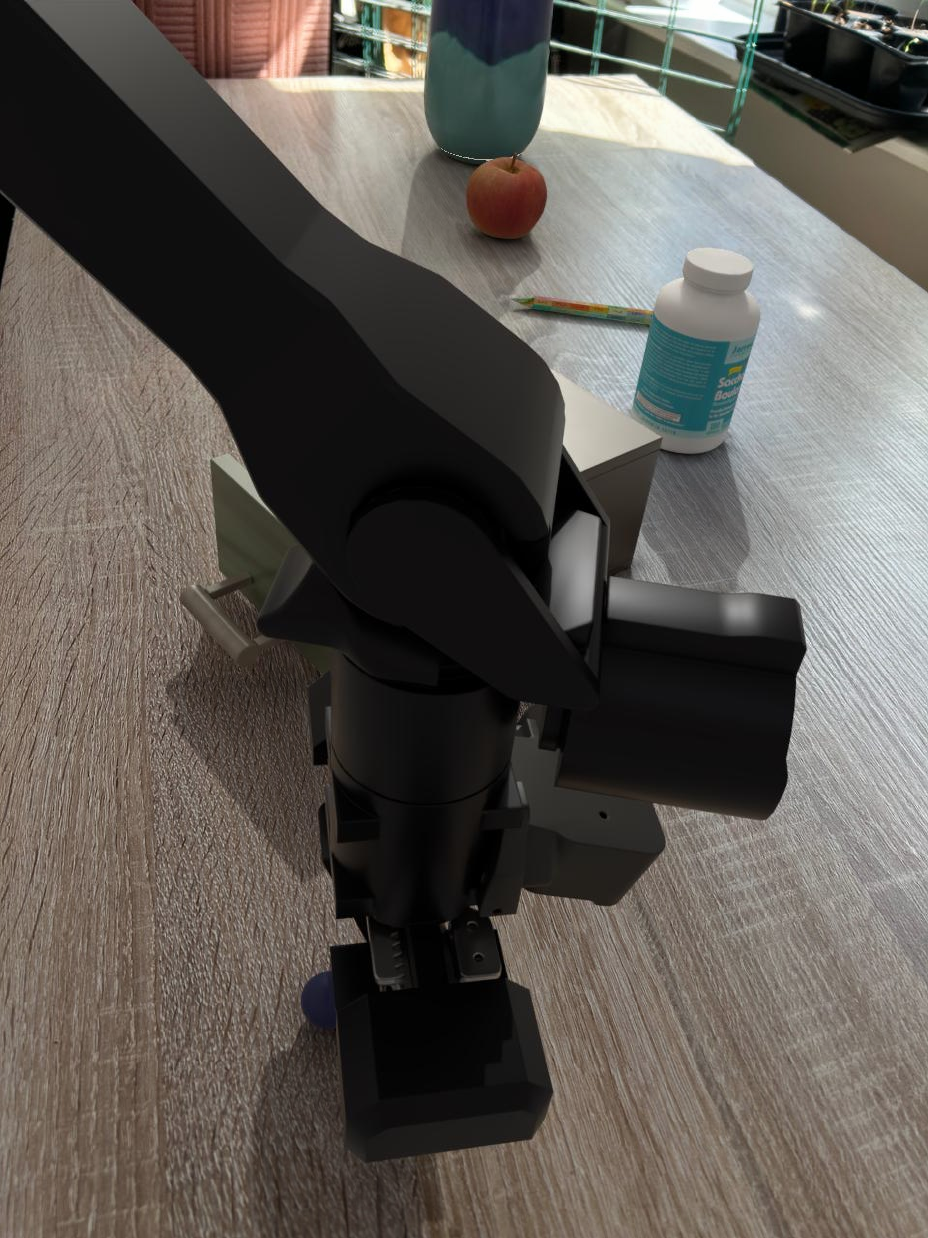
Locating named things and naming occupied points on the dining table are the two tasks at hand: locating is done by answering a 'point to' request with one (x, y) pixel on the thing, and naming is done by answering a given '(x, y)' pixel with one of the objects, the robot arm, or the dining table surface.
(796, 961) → the dining table surface
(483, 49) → the vase
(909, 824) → the dining table surface
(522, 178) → the apple
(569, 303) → the pencil
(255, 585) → the drawer
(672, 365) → the pill bottle
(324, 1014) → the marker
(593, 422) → the cabinet
